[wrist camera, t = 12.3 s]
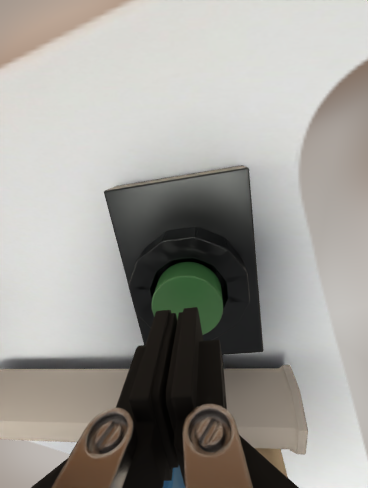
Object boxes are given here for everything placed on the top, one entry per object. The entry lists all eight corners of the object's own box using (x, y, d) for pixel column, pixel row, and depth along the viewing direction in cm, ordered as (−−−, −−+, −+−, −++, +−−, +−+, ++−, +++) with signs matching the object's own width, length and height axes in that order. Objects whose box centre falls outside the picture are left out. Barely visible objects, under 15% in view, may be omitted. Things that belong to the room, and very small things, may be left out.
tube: (-27, 452, 21) (299, 465, 18) (-76, 429, 17) (313, 441, 14) (11, 382, 25) (280, 384, 22) (-22, 353, 22) (289, 351, 19)
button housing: (257, 330, 19) (269, 374, 16) (153, 339, 20) (141, 381, 17) (243, 165, 15) (255, 169, 12) (116, 186, 16) (89, 196, 13)
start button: (224, 314, 15) (227, 335, 13) (163, 320, 15) (158, 340, 14) (217, 257, 14) (218, 271, 12) (151, 265, 14) (144, 280, 13)
